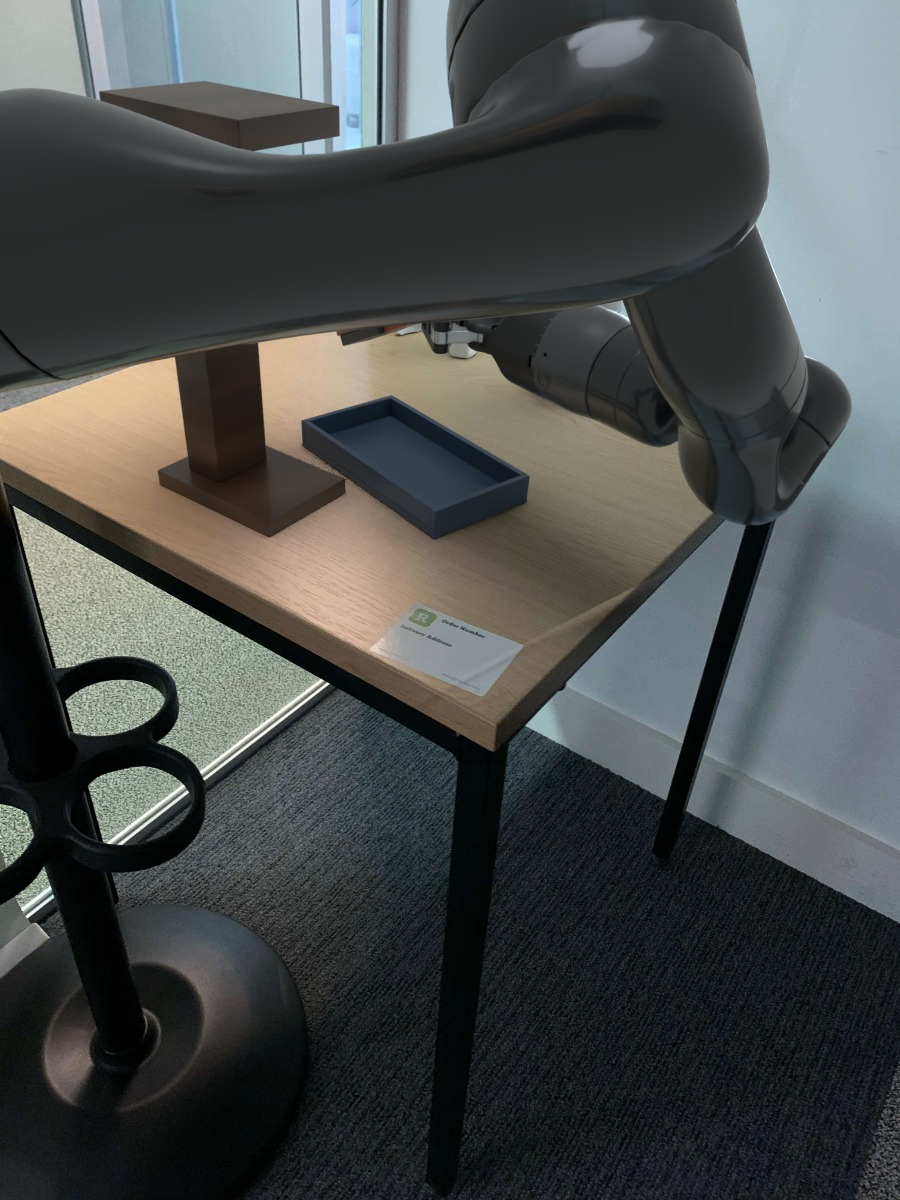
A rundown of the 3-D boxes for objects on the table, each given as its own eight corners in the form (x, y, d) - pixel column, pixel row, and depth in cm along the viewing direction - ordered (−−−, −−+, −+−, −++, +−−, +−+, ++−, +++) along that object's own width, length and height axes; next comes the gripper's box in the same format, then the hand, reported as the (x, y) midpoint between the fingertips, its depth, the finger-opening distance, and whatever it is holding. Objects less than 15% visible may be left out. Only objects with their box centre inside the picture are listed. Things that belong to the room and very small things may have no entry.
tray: (526, 502, 85) (530, 475, 83) (433, 539, 79) (435, 511, 77) (391, 419, 97) (391, 394, 96) (302, 445, 91) (300, 420, 90)
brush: (477, 304, 74) (468, 267, 74) (444, 311, 72) (435, 273, 72) (370, 340, 88) (361, 308, 87) (340, 347, 86) (331, 315, 85)
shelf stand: (345, 492, 84) (339, 105, 65) (269, 537, 77) (238, 119, 58) (238, 446, 90) (204, 80, 71) (159, 484, 84) (98, 91, 64)
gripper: (645, 286, 67) (490, 231, 77) (508, 320, 60) (357, 254, 70) (628, 382, 71) (484, 317, 82) (499, 425, 64) (358, 347, 74)
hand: (426, 288), depth 76 cm, fingers closed on brush, 2 cm apart
